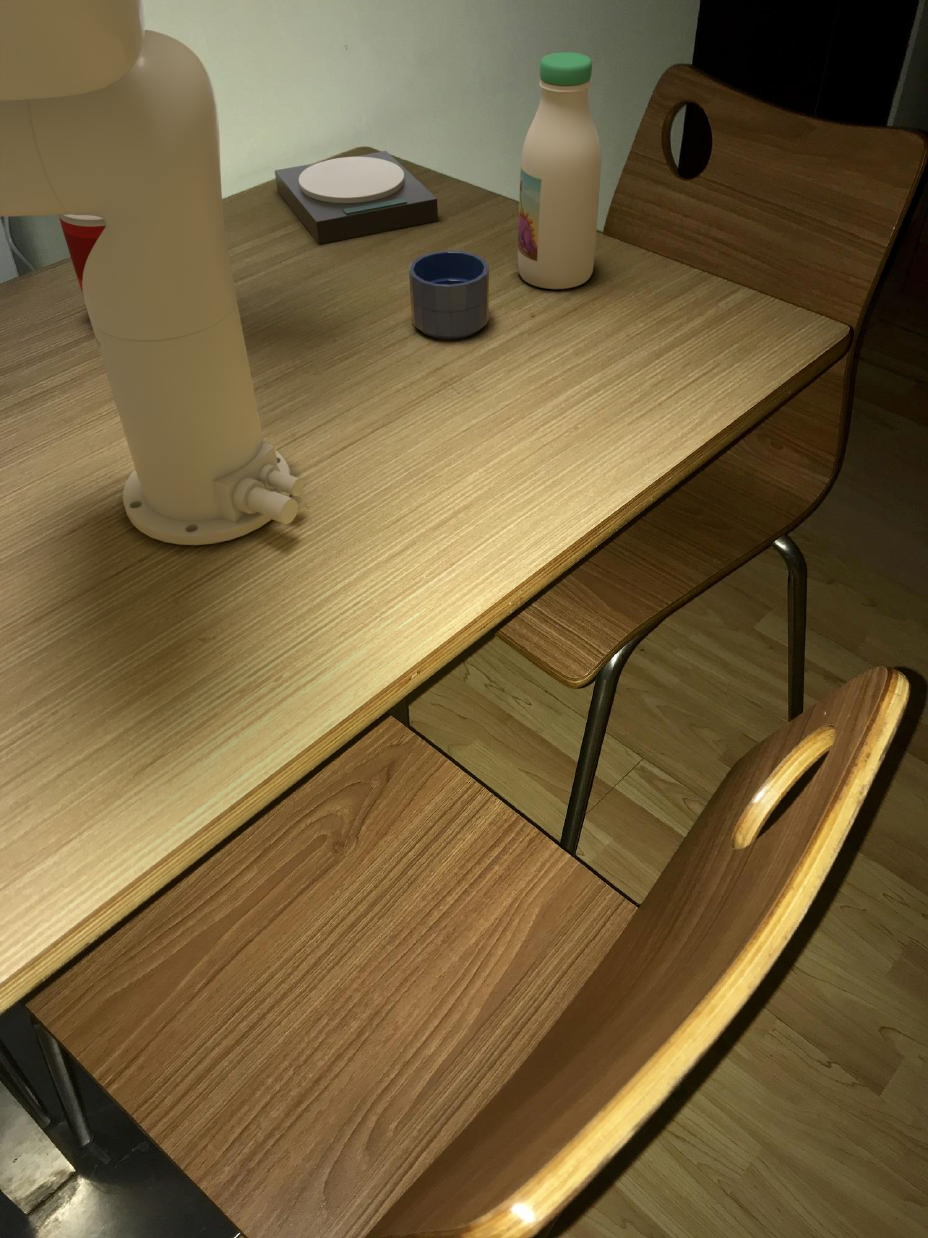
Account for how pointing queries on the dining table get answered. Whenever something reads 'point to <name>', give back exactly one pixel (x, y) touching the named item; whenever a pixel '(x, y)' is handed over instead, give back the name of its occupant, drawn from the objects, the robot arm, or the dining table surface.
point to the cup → (449, 294)
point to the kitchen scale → (355, 196)
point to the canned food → (81, 238)
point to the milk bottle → (560, 179)
